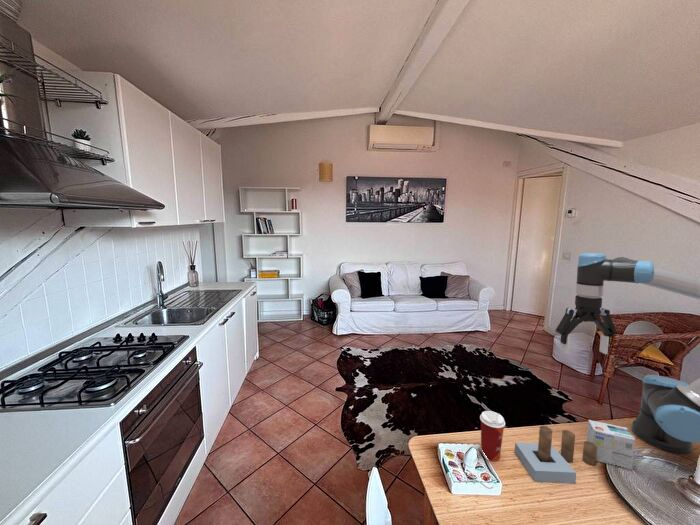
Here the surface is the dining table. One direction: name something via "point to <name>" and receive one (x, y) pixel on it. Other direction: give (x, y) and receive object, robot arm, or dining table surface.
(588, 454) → the short walnut dowel
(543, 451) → the tall walnut dowel
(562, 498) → the dining table surface
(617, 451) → the light bulb box
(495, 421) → the paper cup
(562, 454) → the medium walnut dowel
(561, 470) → the drilled block
